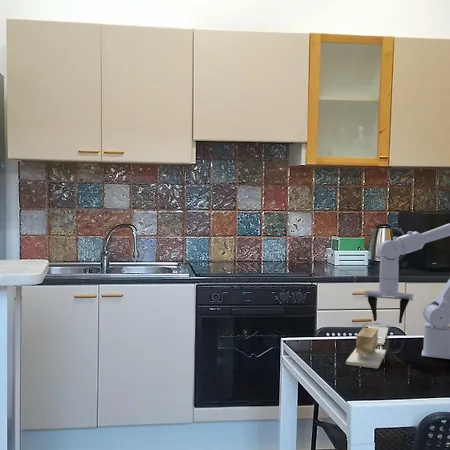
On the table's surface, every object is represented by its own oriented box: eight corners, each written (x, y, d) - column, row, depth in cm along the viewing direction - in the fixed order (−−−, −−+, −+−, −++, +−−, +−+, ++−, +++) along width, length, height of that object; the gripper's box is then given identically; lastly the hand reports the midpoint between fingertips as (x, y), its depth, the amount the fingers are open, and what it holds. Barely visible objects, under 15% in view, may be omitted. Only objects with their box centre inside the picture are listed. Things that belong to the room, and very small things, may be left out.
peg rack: (385, 353, 178) (386, 343, 178) (378, 368, 159) (378, 357, 159) (356, 349, 181) (357, 340, 181) (345, 364, 163) (346, 354, 163)
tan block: (377, 344, 176) (377, 328, 176) (371, 354, 163) (372, 337, 163) (362, 343, 178) (363, 327, 177) (356, 352, 165) (356, 335, 164)
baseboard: (353, 345, 191) (383, 348, 188) (353, 336, 191) (384, 339, 187) (361, 328, 219) (388, 331, 216) (362, 321, 219) (388, 323, 216)
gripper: (363, 278, 177) (362, 321, 177) (412, 281, 172) (411, 325, 172) (366, 276, 184) (365, 317, 184) (413, 279, 179) (412, 322, 179)
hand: (387, 321), depth 179 cm, fingers open, 7 cm apart
